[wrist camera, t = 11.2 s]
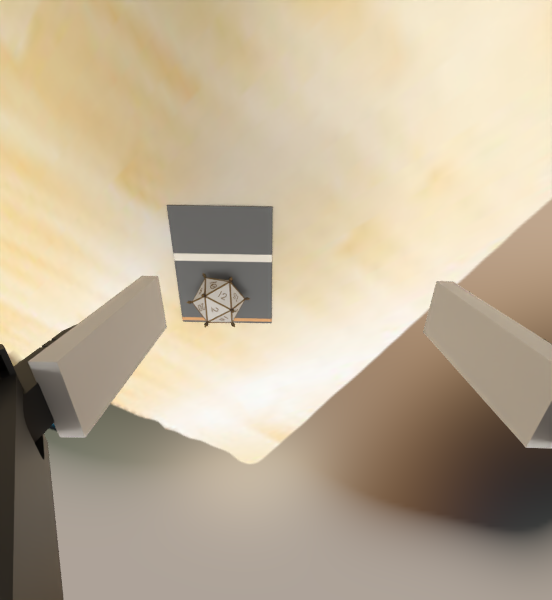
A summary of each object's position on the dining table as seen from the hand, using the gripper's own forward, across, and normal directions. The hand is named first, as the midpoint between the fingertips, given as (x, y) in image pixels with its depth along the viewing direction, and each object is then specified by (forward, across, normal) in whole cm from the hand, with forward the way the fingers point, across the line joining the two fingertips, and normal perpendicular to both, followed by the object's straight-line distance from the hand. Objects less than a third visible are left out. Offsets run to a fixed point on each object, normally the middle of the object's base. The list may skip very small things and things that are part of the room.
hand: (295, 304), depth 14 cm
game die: (+32, -10, -13) cm, 36 cm away
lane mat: (+33, -10, -9) cm, 35 cm away
